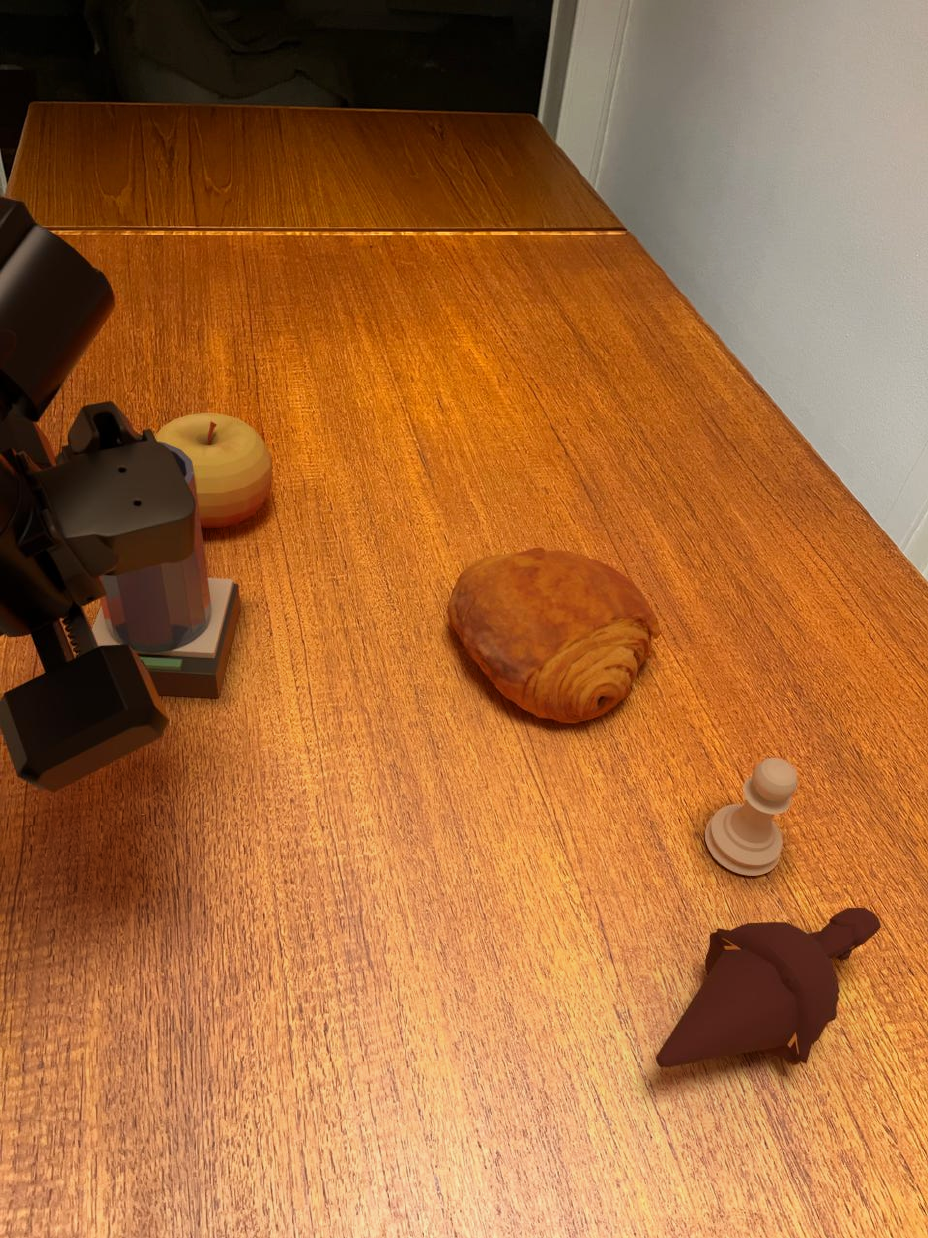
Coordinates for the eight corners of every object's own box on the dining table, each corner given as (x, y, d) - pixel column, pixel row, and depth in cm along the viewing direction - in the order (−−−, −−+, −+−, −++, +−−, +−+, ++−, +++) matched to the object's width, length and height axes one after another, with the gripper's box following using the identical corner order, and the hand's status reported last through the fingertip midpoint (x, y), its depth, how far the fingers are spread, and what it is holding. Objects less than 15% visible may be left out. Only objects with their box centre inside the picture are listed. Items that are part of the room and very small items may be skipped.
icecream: (743, 1127, 42) (939, 972, 50) (647, 971, 45) (847, 847, 53) (670, 1149, 48) (857, 1007, 55) (589, 1009, 51) (777, 891, 58)
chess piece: (777, 887, 59) (822, 811, 53) (700, 866, 59) (737, 788, 54) (780, 825, 62) (823, 747, 57) (706, 805, 63) (742, 725, 57)
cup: (165, 667, 63) (139, 522, 55) (84, 626, 65) (46, 480, 57) (232, 606, 68) (217, 464, 59) (154, 570, 70) (129, 427, 61)
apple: (287, 481, 83) (283, 400, 78) (259, 553, 76) (253, 470, 71) (174, 466, 84) (162, 384, 78) (135, 537, 77) (120, 452, 71)
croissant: (506, 770, 66) (527, 706, 60) (417, 600, 74) (427, 528, 68) (682, 708, 71) (718, 644, 65) (581, 555, 79) (604, 485, 73)
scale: (82, 691, 65) (74, 660, 63) (117, 599, 71) (110, 568, 69) (218, 698, 66) (214, 668, 63) (240, 607, 72) (237, 577, 70)
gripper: (224, 596, 36) (310, 730, 50) (65, 272, 43) (179, 468, 57) (-66, 739, 34) (108, 836, 48) (-179, 376, 42) (0, 552, 56)
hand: (104, 657), depth 52 cm, fingers open, 9 cm apart
